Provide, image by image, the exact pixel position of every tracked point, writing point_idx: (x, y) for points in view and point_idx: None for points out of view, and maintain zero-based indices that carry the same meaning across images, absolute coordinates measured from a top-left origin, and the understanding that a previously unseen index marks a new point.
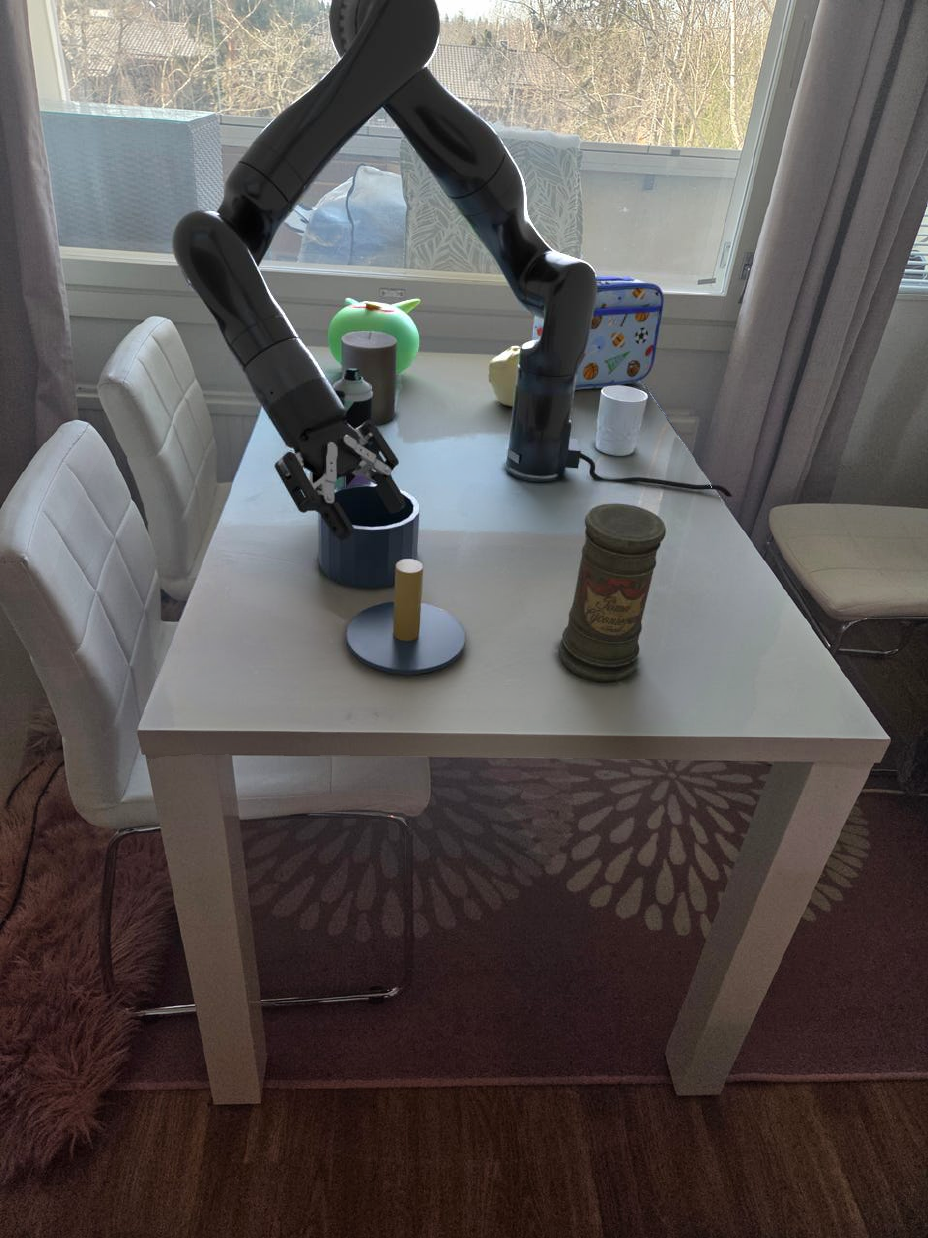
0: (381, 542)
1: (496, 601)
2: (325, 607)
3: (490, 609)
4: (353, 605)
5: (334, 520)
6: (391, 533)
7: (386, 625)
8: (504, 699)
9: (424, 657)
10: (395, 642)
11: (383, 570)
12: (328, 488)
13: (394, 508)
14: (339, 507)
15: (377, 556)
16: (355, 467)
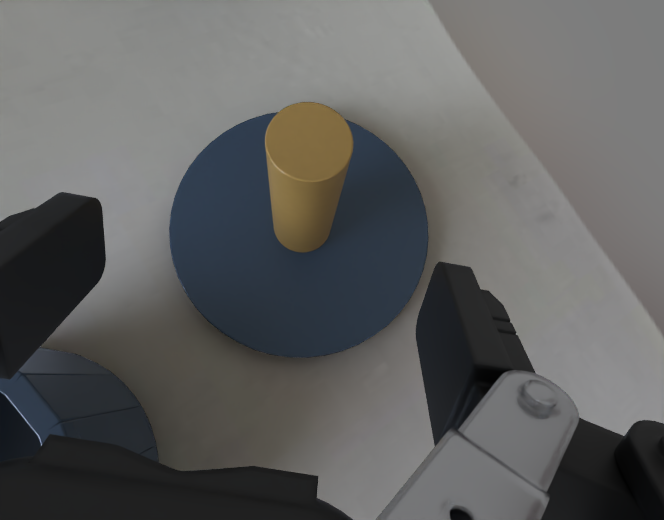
0: (65, 393)
1: (57, 132)
2: (274, 460)
3: (96, 132)
4: (231, 405)
5: (517, 335)
6: (26, 367)
7: (297, 275)
8: (360, 23)
9: (356, 159)
10: (342, 229)
11: (104, 383)
12: (517, 445)
13: (96, 247)
14: (480, 338)
15: (96, 399)
16: (101, 446)
